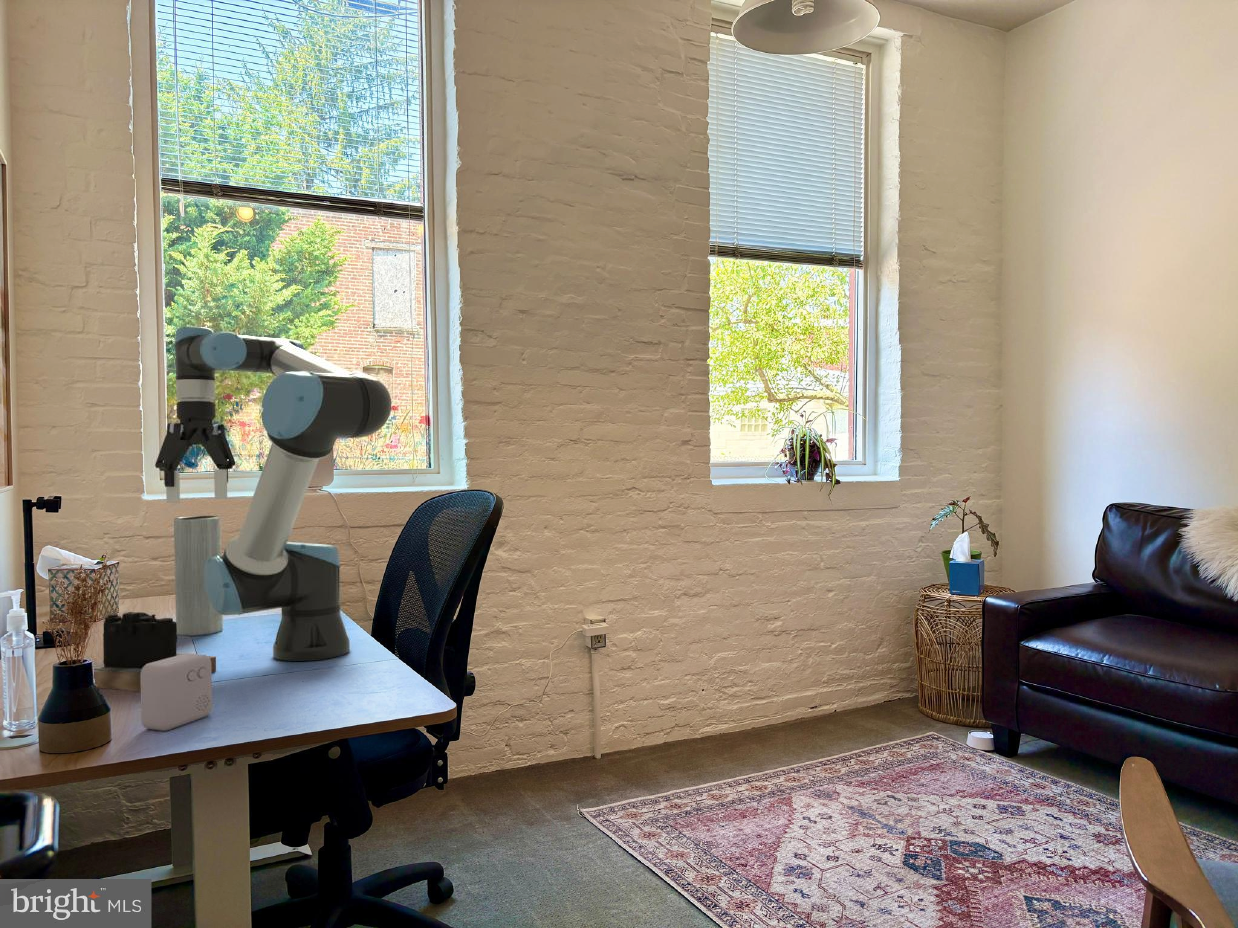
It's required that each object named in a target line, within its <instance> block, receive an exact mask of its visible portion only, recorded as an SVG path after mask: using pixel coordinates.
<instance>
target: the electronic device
mask: <svg viewBox="0 0 1238 928" xmlns="http://www.w3.org/2000/svg"><path fill="white" fill-rule="evenodd" d="M181 654H182V655H178V656H174V657H171V658H167V659H163V660H159V661H155V662H152V663H148V664H146V665H145V666H144V667H143V668H142V670H141V674H140V679H141V692H140V711H141V712H140V717H141V719H140V720H141V725H142V727H143V728H144V729H147V730H148V729H149V730H155V731H163V732H166V731H169V730H173V729H175V728H178V727H181V726H183V725H186V724H189V723H192V722H195V721H198V720H200V719H203V718H206V717H208V716H209V715H210V714H211V713H212V709H213V687H212V685H213V684H212V683H213V682H212V673H211V660H210V658H209V657H208V656H209V655H206V654H202V653H201V654H200V653H199V654H198V653H188V652H186V653H181Z"/></svg>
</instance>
